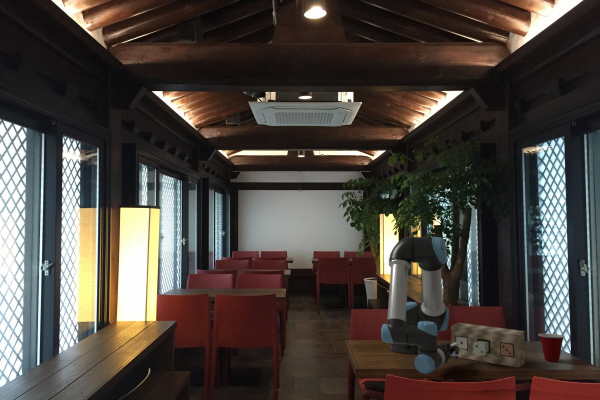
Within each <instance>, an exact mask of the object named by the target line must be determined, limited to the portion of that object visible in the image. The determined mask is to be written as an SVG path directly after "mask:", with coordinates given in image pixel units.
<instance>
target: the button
mask: <svg viewBox="0 0 600 400" xmlns="http://www.w3.org/2000/svg"><path fill="white" fill-rule="evenodd" d="M456 343H458V347H459V348H463V349H468V337H463V336H460V337H459V336H456Z"/></svg>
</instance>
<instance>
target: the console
mask: <svg viewBox="0 0 600 400" xmlns="http://www.w3.org/2000/svg"><path fill="white" fill-rule="evenodd" d="M450 326H451V327H450V336H451V337H450V338H451V339H450V341H451V342H450V343H451V344H453V343H454V342H456V336H459V337H460V336H463V337H468V349H463V348H459V354H458V358H460V359H466V360H473V361H477V362H484V363H488V364H496V365H500V366H507V367H512V368H517V367H520V368H521V367H522V366H523V365H524V364H525V363H526V358H525V357H526V353H525V352H526V351H525V349H526V348H525V347H526V346H525V330H520V329H519V330H518V329H517V330H516V329H509V328H501V327H496V326H495V327H494V326H488V325H479V324H471V323H462V322H457V323H455V324H452V325H450ZM480 340H481V341H488V342H489V351H488V352H486V355H485V356H484V355H478V354H474V347H473V342H478V341H480ZM501 343H511V344H514V354H513V356H507V355H501ZM451 344H450V345H451Z"/></svg>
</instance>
